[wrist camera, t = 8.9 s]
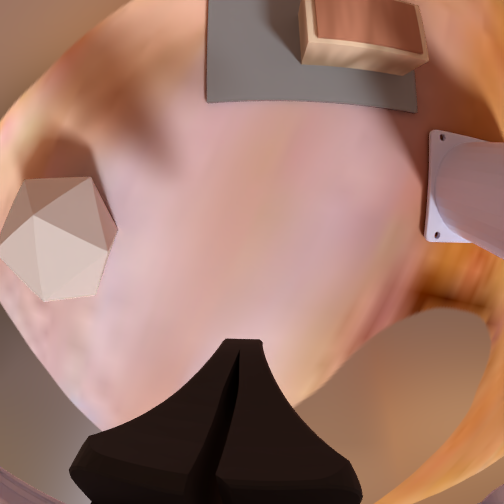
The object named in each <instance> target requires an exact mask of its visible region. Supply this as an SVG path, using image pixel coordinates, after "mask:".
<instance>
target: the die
mask: <svg viewBox="0 0 504 504" xmlns="http://www.w3.org/2000/svg"><path fill="white" fill-rule="evenodd" d="M117 231H118V229H117V227H116V225H115V223H114V221H113V219H112V217H111V215H110V214H109V212H108V210H107V208H106V206H105V204H104V202H103V200H102V198H101V196H100V194H99V192H98V190H97V188H96V186H95V184H94V182H93V180H92V177H63V178H39V179H24V181H23V183H22V185H21V187H20V189H19V191H18V193H17V195H16V197H15V200H14V202H13V204H12V206H11V209H10V211H9V213H8V216H7V218H6V221H5V223H4V226H3V228H2V231H1V233H0V258H1V259H2V260H3V262H4V263H5V264H6V265H7V266H8V267H9V268H10V269H11V270H12V271H13V272H14V273H15V274H16V275H17V276H18V278H19V279H20V280H21V281H22V282H23V283H24V284H25V285H26V286H27V287H28V288H29V289H30V290H31V291H32V292H33V293H35V294H36V295H37V296H38V297H39V298H40V299H41V300H42V301H43V302H47V301H55V300H63V299H71V298H79V297H87V296H95V295H96V293H97V290H98V287H99V284H100V280H101V277H102V274H103V271H104V268H105V265H106V262H107V259H108V256H109V253H110V250H111V248H112V245H113V242H114V239H115V237H116V234H117Z"/></svg>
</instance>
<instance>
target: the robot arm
mask: <svg viewBox="0 0 504 504" xmlns="http://www.w3.org/2000/svg"><path fill="white" fill-rule="evenodd" d="M440 135H442V136H443V140H442V141H441V139H440ZM436 232H437V233H438V234H437V236H436V237H434V235H435V233H436ZM424 237H425V239H426V240H427V241H430V242H461V243H474V244H476V245H478V246H480V247H482V248H483V249H485V250H487V251H489V252H491V253H493V254H495V255H496V256H498V257H500V258H502V259H504V142H488V141H484V140H481V139H477V138H473V137H469V136H464V135H460V134H456V133H451V132H446V131H441V130H432V131H430V133H429V178H428V196H427V210H426V220H425V230H424ZM69 473H70V476H71V478H72V479H73V481H74V482H75V484H77V486H78V487H79V488H80V489H81V490H82V491H83V492H84V494H85V495H86V496H87V497H88V498H89V499H90V500H91V501H92V502H91V504H360V503H361V500H362V497H363V495H362V489H361V486H360V483H359V480H358V478H357V475H356V473H355V471H354V469H353V467H352V465H351V463H350V461H349V460H347V459H346V458H344V457H343V456H341V455H340V454H339V453H337V452H336V451H335V450H334V449H332V448H331V447H330V446H329V445H327V444H326V443H325V442H324V441H323V440H322V439H321V438H319V437H318V436H317V435H316V434H315V433H314V432H313V431H312V430H311V429H310V428H309V427H308V426H307V424H306V423H305V422H304V421H303V420H302V419H301V418H300V417H299V416H298V414H297V413H296V412H295V410H294V409H293V408H292V406H291V405H290V404H289V402H288V401H287V399H286V398H285V396H284V395H283V393H282V392H281V390H280V388H279V386H278V385H277V383H276V381H275V379H274V377H273V375H272V373H271V370H270V368H269V366H268V363H267V361H266V358H265V355H264V351H263V342H262V341H261V340H260V339H225V340H224V341H223V342H222V344H221V345H220V346H219V348H218V349H217V350H216V352H215V353H214V354H213V355H212V357H211V358H210V359H209V360H208V361H207V362H206V364H205V365H204V366H203V367H202V368H201V369H200V370H199V371H198V372H197V373H196V374H195V375H194V376H193V377H192V378H191V379H190V380H189V381H188V382H187V383H186V384H185V385H184V386H183V387H182V388H181V389H179V390H178V391H177V392H176V393H174V394H173V395H172V396H171V397H169V398H168V399H167V400H165V401H164V402H162V403H161V404H159V405H158V406H156V407H155V408H153V409H151V410H150V411H148V412H146V413H145V414H143V415H141V416H139V417H137V418H135V419H133V420H131V421H129V422H126V423H124V424H122V425H120V426H117V427H115V428H112V429H109V430H106V431H103V432H100V433H97V434H94V435H91V436H89V437H88V438H87V440H86V441H85V442H84V444H83V445H82V447H81V449H80V451H79V452H78V454H77V456H76V458H75V459H74V461H73V463H72V465H71V467H70V469H69ZM0 504H65V503H63V502H61V501H59V500H57V499H55V498H53V497H51V496H49V495H47V494H45V493H43V492H41V491H40V490H37V489H36V488H34V487H32V486H30V485H29V484H27V483H25V482H24V481H22V480H20V479H19V478H17V477H16V476H14V475H12V474H11V473H9V472H8V471H6V470H5V469H3V468H1V467H0ZM478 504H504V484H503V485H501V486H499V487H498V488H496V489H495V490H494V491H492V492H491V493H490V494H489V495H488V496H487V497H486V498H485V499H484V500H483V501H482V502H480V503H478Z"/></svg>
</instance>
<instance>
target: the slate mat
mask: <svg viewBox="0 0 504 504" xmlns="http://www.w3.org/2000/svg"><path fill="white" fill-rule="evenodd" d="M300 2H301V0H209V5H208V37H207V103H219V102H238V101H307V102H326V103H340V104H351V105H361V106H370V107H378V108H385V109H392V110H399V111H405V112H411V113H417V96H416V84H415V73H414V70H412V71H410V72H409V73H407V74H405V75H404V76H399V75H394V74H388V73H382V72H376V71H369V70H361V69H353V68H344V67H333V66H320V65H301V51H300V34H299V20H298V12H299V7H300Z"/></svg>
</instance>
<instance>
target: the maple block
mask: <svg viewBox="0 0 504 504" xmlns="http://www.w3.org/2000/svg"><path fill="white" fill-rule="evenodd" d="M298 20H299V34H300V51H301V65H320V66H333V67H344V68H353V69H361V70H369V71H376V72H382V73H388V74H394V75H399V76H404V75H405V74H407V73H409V72H410V71H412V70H414V69H416V68H418V67H419V66H421V65H423V64H425V63H427V62H428V61H429V57H428V50H427V44H426V38H425V33H424V27H423V22H422V18H421V13H420V9H419V6H418V5H414V4H411V3H407V2H403V1H399V0H301V2H300V7H299V12H298Z"/></svg>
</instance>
